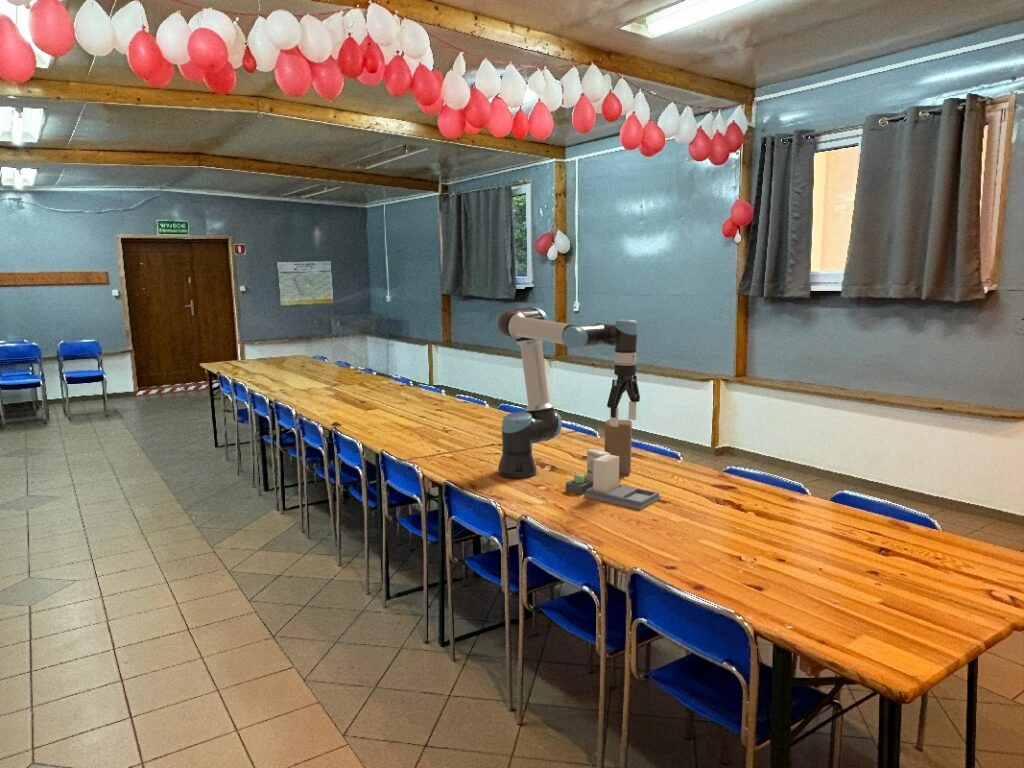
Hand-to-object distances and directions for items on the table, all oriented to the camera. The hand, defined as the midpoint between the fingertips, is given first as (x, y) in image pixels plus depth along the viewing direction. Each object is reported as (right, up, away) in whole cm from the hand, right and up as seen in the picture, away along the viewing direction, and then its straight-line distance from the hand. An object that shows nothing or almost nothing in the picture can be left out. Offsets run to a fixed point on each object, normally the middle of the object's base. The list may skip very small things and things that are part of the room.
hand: (623, 422), depth 240 cm
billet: (-6, -24, -2) cm, 25 cm away
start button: (-16, -23, +2) cm, 28 cm away
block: (+2, -21, +26) cm, 33 cm away
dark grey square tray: (-15, -24, +3) cm, 29 cm away
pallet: (-1, -26, -6) cm, 26 cm away
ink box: (-7, -23, +13) cm, 27 cm away
